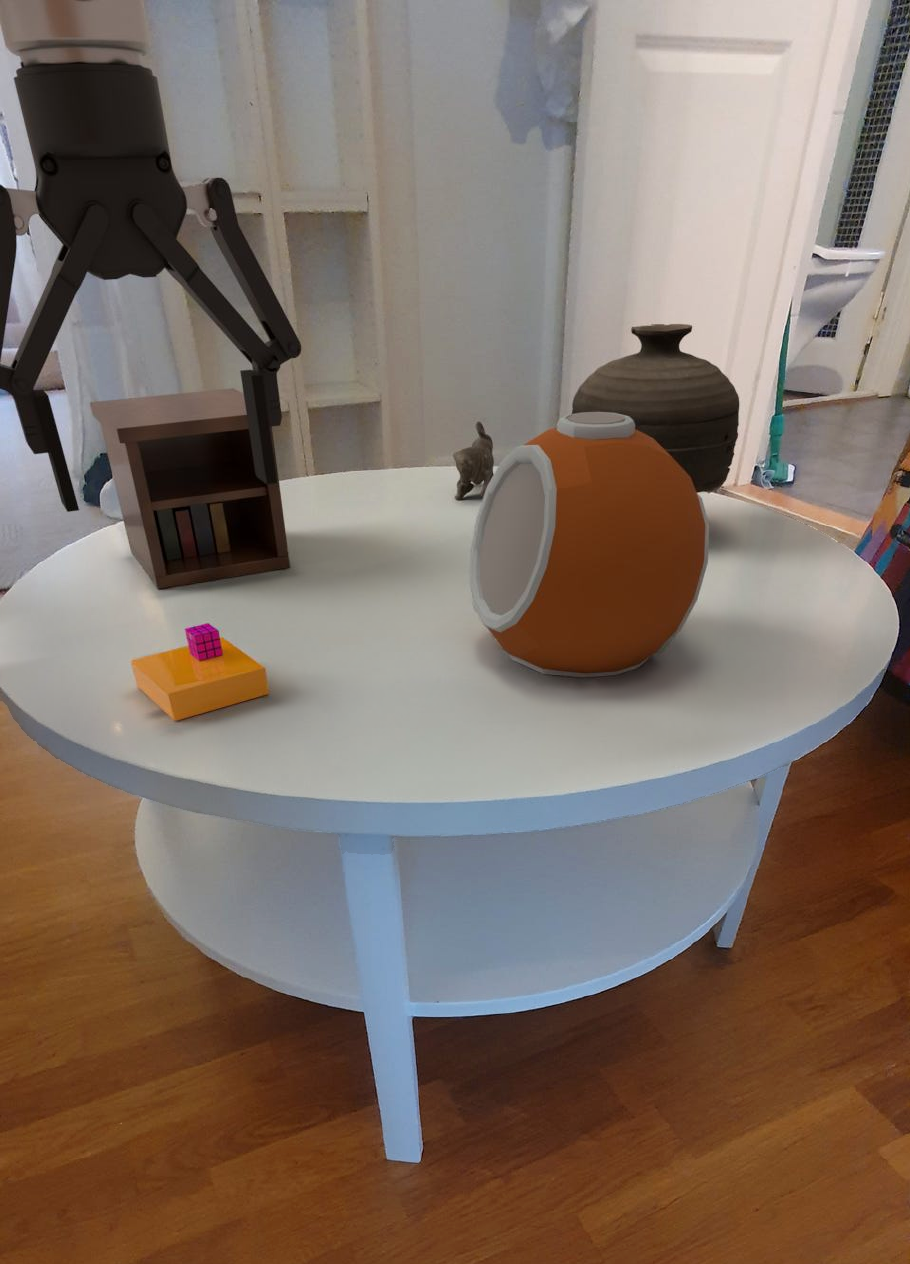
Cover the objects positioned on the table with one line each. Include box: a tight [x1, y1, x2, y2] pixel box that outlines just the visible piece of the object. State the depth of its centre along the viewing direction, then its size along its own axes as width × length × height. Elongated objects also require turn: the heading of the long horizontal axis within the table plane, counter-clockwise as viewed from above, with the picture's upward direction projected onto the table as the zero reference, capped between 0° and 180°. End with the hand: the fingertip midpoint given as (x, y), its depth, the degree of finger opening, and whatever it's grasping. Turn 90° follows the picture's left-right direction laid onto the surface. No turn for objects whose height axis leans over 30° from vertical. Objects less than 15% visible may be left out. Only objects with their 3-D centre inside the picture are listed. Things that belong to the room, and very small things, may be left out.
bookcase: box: [89, 387, 291, 590], centre depth 94 cm, size 15×15×14 cm
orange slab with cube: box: [130, 622, 270, 722], centre depth 72 cm, size 8×8×4 cm
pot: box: [571, 323, 740, 494], centre depth 97 cm, size 18×18×20 cm
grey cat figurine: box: [452, 421, 495, 501], centre depth 114 cm, size 12×6×7 cm, turn 171°
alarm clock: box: [468, 412, 710, 678], centre depth 73 cm, size 19×18×17 cm
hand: (171, 493), depth 63 cm, fingers open, 13 cm apart
